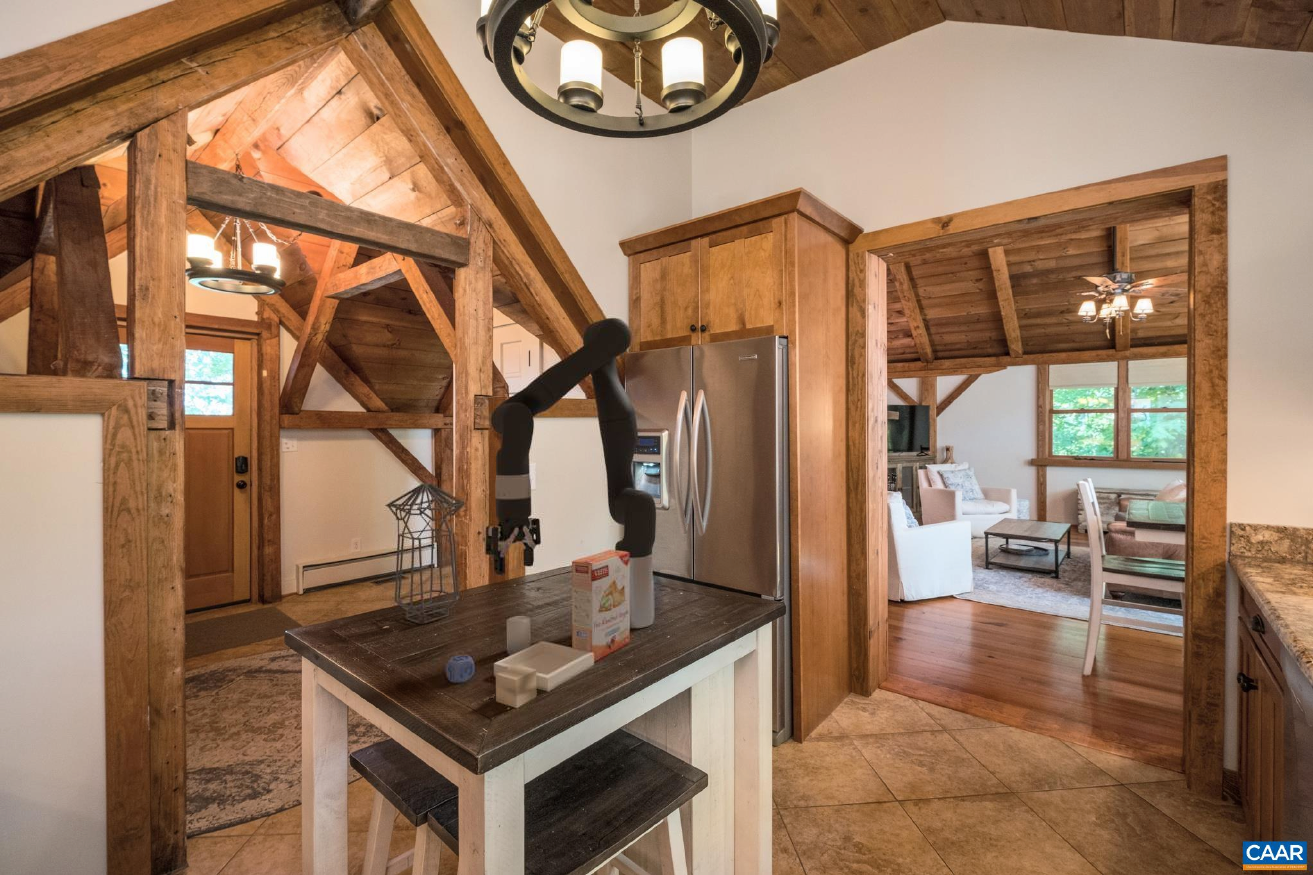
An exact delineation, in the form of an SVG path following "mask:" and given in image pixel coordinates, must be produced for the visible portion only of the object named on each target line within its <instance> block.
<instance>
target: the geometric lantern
mask: <svg viewBox="0 0 1313 875" xmlns="http://www.w3.org/2000/svg"><path fill="white" fill-rule="evenodd" d="M425 494H426V500H425V501H424V496H425ZM420 496H421V498H420ZM430 497H431V498H432V499H430ZM404 498H406V499H404ZM419 498H420V501H419V503H418V502H417V501H418V500H419ZM448 498H449V499H448ZM402 499H404V501H403V502H401V503H397V502H398V501H401V500H402ZM451 500H453V502H452V501H451ZM434 502H436V503H437V505H438V506H439V507H432V504H433V503H434ZM423 504H428V505H426V506H423ZM445 505H447V506H445ZM465 505H467V502H466V501H464V500H461V499H459V498H458V497H456V496H454V495H452V494H450V493H448V492H447V491H445V490H443V489H441V488H440V487H438V486H436V485H434V484H432V483H427V482H426V483H421V484H419V485H417V486H416V487H414V488H413V489H411V490H409V491H407V492H406V493H404V494H401V496H399V497H397V498H395V499H394V500H391V502H388V503H387V504H385V507H387V508H388V509H389V510H390V512H391V513H392V514H393V516H395V519H396V521H397V548H396V566H395V567H396V568H395V570H396V571H395V588H394V602H395V603H396V604H398V605H399V606H400V607H401V608H402V609H403V610H405V619H406V620H408V621H411V622H414V623H417V624H419V625H422V624H426V623H430V622H434V621H436V620H440V619H443V618H445V617H449V616H450V614H449V612H450V610H449V609H450V607H452V606H453V605H454V604H455V603H456V602H458V600H459V597H460V593H459V591H460V590H459V581H458V580H459V579H458V565H457V564H458V563H457V548H456V532H455V531H453V526H452V516H456V513H457V512H458V511H459V510H460V509H461V508H462V507H463V506H465ZM414 506H418V507H417V508H414ZM406 507H407V508H406ZM393 508H395V510H394V509H393ZM452 508H453V509H452ZM427 510H428V511H430V512H431V516H430V515H429V514H427V513H426V511H427ZM441 510H442V512H441V513H442V516H440V517H437V518H435V516H434V511H441ZM398 511H399V516H398ZM412 511H418V513H416V512H415V513H413V512H412ZM402 512H403V513H405V514H404V515H402ZM445 512H446V513H445ZM423 515H424V516H425V517H427V518H428V519H429V520H428V521H427V520H426V518H425V517H424V516H423ZM411 516H420V517H421V518H422V519H423V521H424V522H425V523H426V525H425V526H424V528H423V529H422V530H415V531H412V530H410V527H409V525H408V523H409V520H410V518H411ZM448 516H449V520H450V521H449V522H450V526H449V524H448V522H447V518H448ZM405 519H406V520H405ZM439 520H442V521H441V523H440V525H439V527H438V528H436V529H435V528H432V526H431V525H430V522H431V521H432V522H434V521H439ZM400 521H402V523H403V525H404V526H403V529H402V532H401V533H400ZM444 524H445V526H446V529H447V530H445V529H441V528H442V526H443V525H444ZM427 527H429V529H426V528H427ZM406 530H407V531H408V532H406ZM424 532H431V536H427V537H421V535H422V534H423V533H424ZM435 532H437V535H435ZM441 532H444V533H448V534H442V535H441ZM417 533H419V534H418V536H417V537H414V534H417ZM407 534H409V536H406V535H407ZM443 537H448V538H449V539H448V540H449V549H450V552H449V553H450V562H451V573H452V574H451V575H452V585H453V593H451V592H448V591H445V590H444V589H443V573H442V571H443V570H442V552H441V551H442V550H441V549H442V548H441V538H443ZM434 538H435V539H436V538H437V546H438V547H437V548H438V567H439V568H438V569H439V570H438V571H439V586H440V590H438V589H433V581H434V580H433V579H434V574H433V573H434V545H435V544H434V542H435V541H434ZM405 539H408V540H409V539H410V540H411V560H410V561H411V566H410V594H409V595H404V596H401V590H402V589H401V587H402V575H403V561H404V560H403V558H404V544H405V543H404V542H405ZM427 539H431V545H430V546H431V551H430V552H431V553H430V556H431V557H430V589H429V590H426V591H424V587H423V584H424V583H423V566H422V565H423V564H422V562H423V560H422V540H427ZM415 541H418V559H419V560H418V561H419V585H420V586H419V587H420V592H418V593H417V592H416V593H414V568H415V566H414V565H415V562H414V560H415ZM400 543H401V544H400ZM399 563H400V564H399ZM433 593H438V595H437V596H436V598H435V600H433V601H432V594H433ZM424 594H425V595H426V594H429V602H424ZM441 594H445V595H448V596H452V597H454V599H450V600H445V601H439V602H437V600H438V598H439V597H440V595H441ZM417 596H420V604H418V605H414V606H413V599H414V598H413V597H417ZM407 598H409V599H410V600H409V601H410V603H409V605H408V604H406V603H403V602H404V601H402V600H404V599H407ZM447 603H450V604H448V605H445V604H447ZM435 606H441V607H444V608H440V609H437V608H435ZM431 607H432V608H431ZM425 608H428V609H425ZM420 609H422V610H421V611H417V610H420ZM438 612H440V613H443V614H444V615H442V616H439V617H435V618H432V619H430V620H427V615H429V614H433V613H438ZM409 613H411V614H409ZM416 615H417V616H419V620H415V619H412V618H409V617H411V616H412V617H413V616H416ZM422 616H423V618H424V620H423V621H422Z"/></svg>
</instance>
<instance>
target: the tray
mask: <svg viewBox="0 0 1313 875" xmlns="http://www.w3.org/2000/svg"><path fill="white" fill-rule="evenodd" d="M516 664H517V665H521V666H524V667H528V668H532V669H535V670H536V688H537V689H538V690H541V691H544V692H550V691H551V690H554V689H555V688H557V687H558V686H560V685H562V684H564V683H565V682H567V681H569V680H571V679H573V678H574V677H576V676H578V675H579V674H581V673H583V672H585V671H586V670H588V669H590V668H591V667H593V666H595V662H594V653H592V652H588V651H584V650H579V649H575V648H572V646H571V647H570V646H566V645H561V644H557V643H553V642H549V641H543V640H542V641H539V642H537V643H535V644H533V645H531V646H530V647H528V648H526V649H524V650H522V651H520V652H517V653H515V654H513V655H509V656H507V657H505V658H502V659H501V660H498V661H496V662H494V663H493V677H496V674H497V673H499V672H501V671H503V670H505V669H507V668H509V667H511V666H514V665H516Z"/></svg>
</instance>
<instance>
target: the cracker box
mask: <svg viewBox="0 0 1313 875" xmlns="http://www.w3.org/2000/svg"><path fill="white" fill-rule="evenodd" d="M630 629H631V628H630V553H629V552H625V551H616V550H615V549H609V550H605V551H601V552H599V553H596V554H591V555H588V556H584V557H582V558H581V557H580V558H578V559H574V560H572V561H571V635H572V636H571V638H572V639H571V648H575V649H579V650H584V651H588V652H592V653H594V663H595V662H597V661H599V660H601V659H602V658H604V657H606V656H608V655H610V654H611V653H614V652H616V651H617V650H619V649H621V648H623V647H625V646H626V645H629V644H630V643H631V640H630V637H631V636H630V634H631V631H630Z"/></svg>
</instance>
